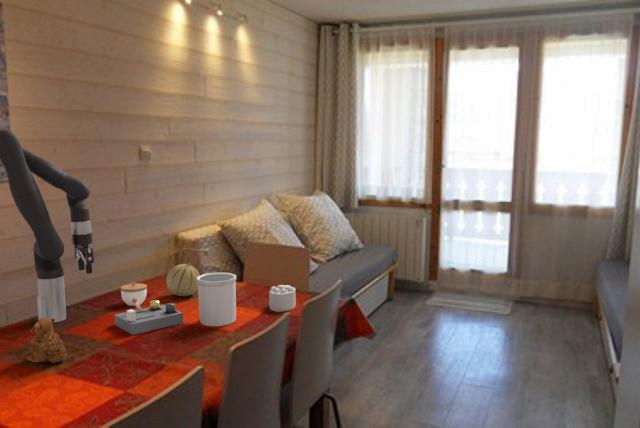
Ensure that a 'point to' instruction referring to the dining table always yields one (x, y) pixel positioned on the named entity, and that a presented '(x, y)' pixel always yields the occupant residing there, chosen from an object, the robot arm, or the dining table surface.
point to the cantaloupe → (183, 280)
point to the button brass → (154, 305)
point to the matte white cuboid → (131, 315)
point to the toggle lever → (136, 304)
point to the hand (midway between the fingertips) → (85, 271)
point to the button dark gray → (170, 307)
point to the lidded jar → (134, 293)
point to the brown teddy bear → (47, 343)
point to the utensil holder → (217, 298)
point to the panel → (148, 320)
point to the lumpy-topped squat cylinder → (282, 298)
